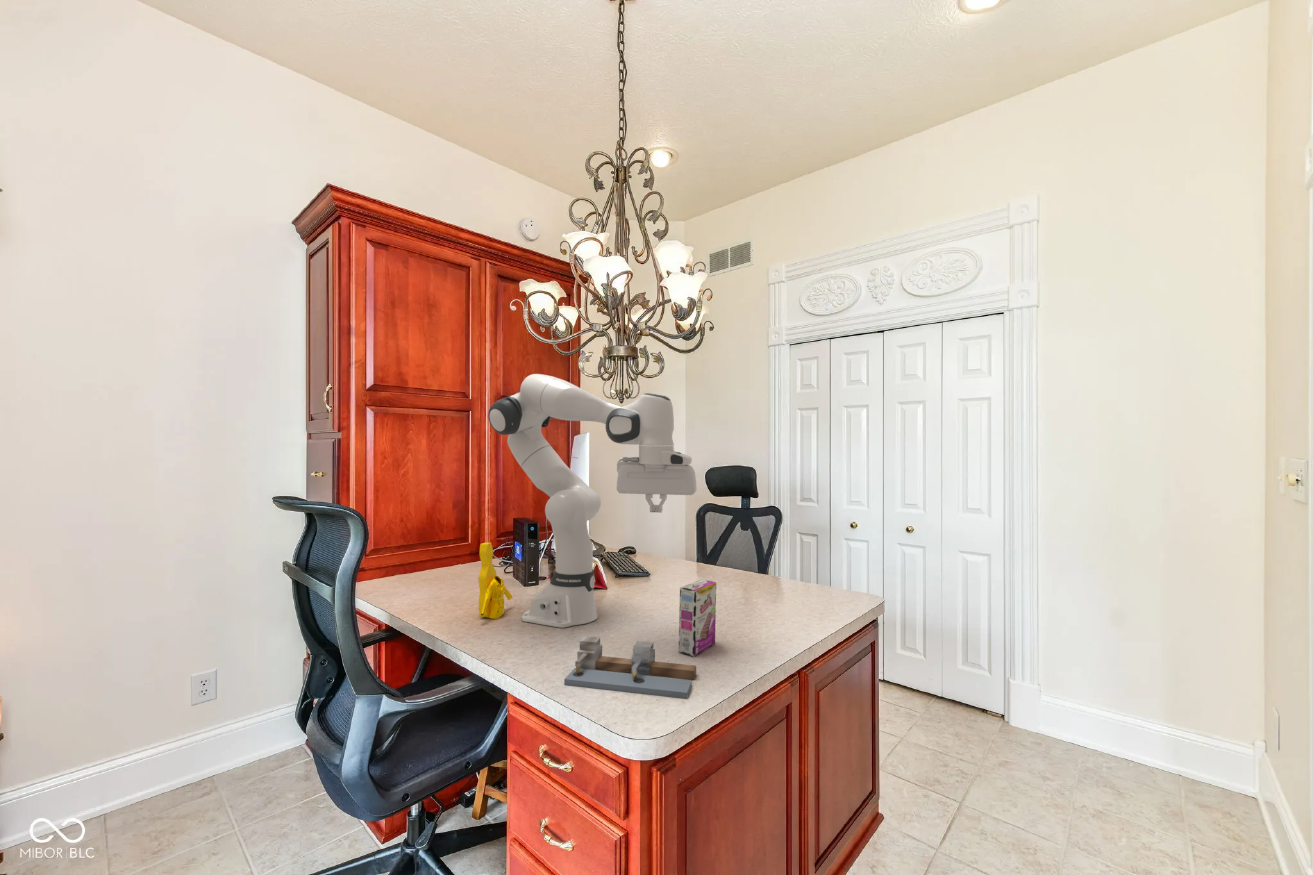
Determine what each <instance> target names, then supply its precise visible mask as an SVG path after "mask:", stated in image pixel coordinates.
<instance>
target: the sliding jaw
mask: <svg viewBox="0 0 1313 875" xmlns="http://www.w3.org/2000/svg"><path fill="white" fill-rule="evenodd" d="M654 644H655V643H654V642H653V641H643V640H636V642H635V643H634V644H633V646H632V648H633V649H632V656H631V659H632V664H631V673H630V674H632V679H634V680H635V679H637V675H647V676H651V675H650V665H651V663H652V662H653V661H656V648H655V647H654V646H655V645H654Z"/></svg>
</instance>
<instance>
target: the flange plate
mask: <svg viewBox="0 0 1313 875" xmlns="http://www.w3.org/2000/svg"><path fill="white" fill-rule="evenodd" d="M563 685H564V686H565V685H566V686H572V687H573V686H575V687H581V688H589V689H590V688H591V689H600V690H609V691H616V692H617V691H618V692H627V693H635V694H641V695H642V694H643V695H653V696H661V697H670V698H678V699H679V698H680V699H685V700H686V699H688V696H689V694H690V692H691V689H692V687H693V680H690V679H680V678H671V677H661V676H652V675H649V676H647V675H637V679H635V680H634V679H632V674H631V673H624V672H614V671H605V670H590V669H581V668H580V673H576V667H574V668H573V669H572V670H571V672H569V673H568V675H567V676H566V677H565V678H564V681H563Z"/></svg>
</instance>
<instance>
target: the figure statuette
mask: <svg viewBox="0 0 1313 875" xmlns="http://www.w3.org/2000/svg"><path fill="white" fill-rule="evenodd" d="M493 558H494V549H493V545H492V542H483V543H480V546H479V560H480V562H481V566H480V571H479V574H478V580H477V581H478V587H479V594H478V595H479V596H478V613H479V617H480V618H489V619H492V620H493V619H494V620H496V619H500V617H501V618H502V616H503V614H505V601H504V596H505V597H506V599H507V600H508V601H510V600H511V599H513V597H514V596H513V595H512V594H511V592H510V591H509V590H508V589H507V586H506V585H505V581H504V579H503V578H501V577H500V576H498V575H497V571H496V569H495V567H494V564H493Z"/></svg>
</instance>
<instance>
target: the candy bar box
mask: <svg viewBox="0 0 1313 875" xmlns="http://www.w3.org/2000/svg"><path fill="white" fill-rule="evenodd" d="M716 606H717V581H713V580H707V579H706V580H705V579H700V580H697V581H694V582H691V583H689V584H686V585H684V586H680V587H679V613H678V615H679V616H678V617H679V623H678V627H679V628H678V654H679V653H680V654H683V655H687V656H690V657H692V658H693V657H696V656H697V655H699V654H700V653H702V652H704V651H705V650H707V649H709V648H710V647H712V646H713V645H715V644H716V619H717V618H716V617H717V615H716V614H717V613H716V612H717V611H716V610H717V608H716Z"/></svg>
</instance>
